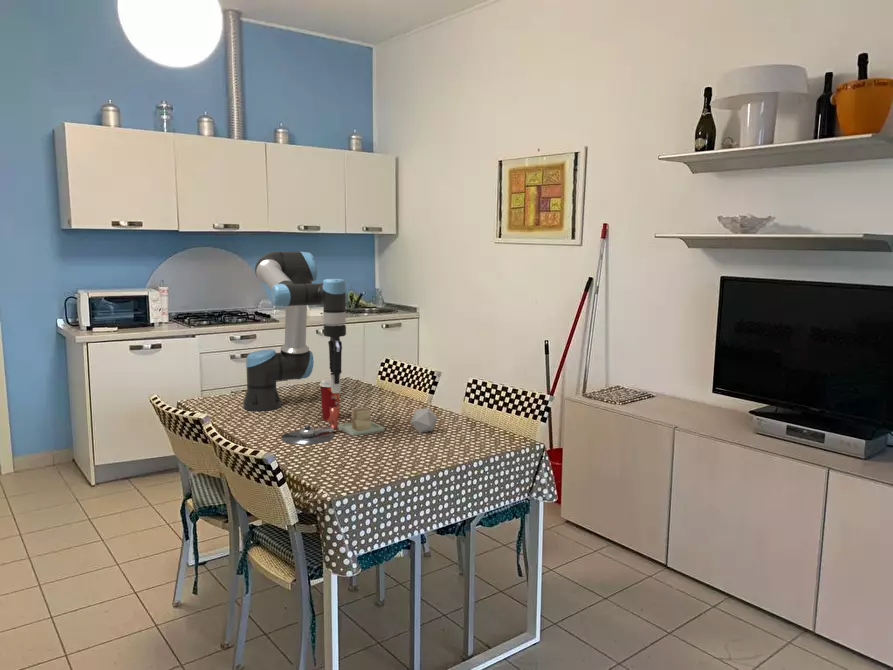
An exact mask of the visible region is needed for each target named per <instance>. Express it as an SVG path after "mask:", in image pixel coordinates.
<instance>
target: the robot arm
mask: <svg viewBox="0 0 893 670" xmlns="http://www.w3.org/2000/svg"><path fill="white" fill-rule="evenodd" d="M254 273H255V276H256V278H258V280H259V281H260V282H261V283H263V284H265V285H267V287H268V288H269V289H270V290H271V295H270V296H271V301H272V304H273V305H274V306H277V307H285V312H284V313H285V318H284V320H285V321H284V322H285V323H284V344H282V346H281V347H280V352H277V351H276V350H275V349H268V348H267V349H260V350H256V351H253V352H249V354H247V356H246V364H245V367H246V393H245V395H244V399H243V402H242V409H244V410H246V411H253V412H265V411H266V412H267V411H271V410H272V411H273V410H277V409H280V408H281V407H282V400H281V398H280V394H279V392H278V389H277V381H291V380H302V379H308V378H309V377H310V376H311V374H312V373H313V370H314V369H313V368H314V363H315V362H314V353H313V352H312V351H311V350H310V347H309V346H308V345H307V343H306V342H307V322H308V321H307V318H308V317H307V316H308V306H317V305H318V306H323V310H322V311H323V315H322V316H323V317H322V319H323V324H324V325H323V335H324V337H327V338H329V340H328V342H327V343H328V351H329V352H328V354H329V356H328V357H329V358H328V359H329V369H330V371H329V372H330V379H331V392H332V393H340V394H341V385H340V383H341V374H342V351H343V344H342V341H341V338H340V337H345V336H346V335H347V325H346V322H347V319H346V318H347V317H348V314H346V311H347V310H346V306H347V305H346V301H347V298H346V296H347V295H346V294H347V293H346V292H347V288H346V282H345V280H344V279H343V278H326V279H324V280H323V282H318V283H313V282H315V281H316V280H317V279H318V268H317V263H316V259H315V257H314V256H313V254H312V253H311V252H306V251H272V252H267V253H266V254H264V255H262V256H261V257H260V258H259V259H258V260H257V261H256V262H255V266H254Z"/></svg>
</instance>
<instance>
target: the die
mask: <svg viewBox="0 0 893 670" xmlns="http://www.w3.org/2000/svg"><path fill="white" fill-rule="evenodd" d="M437 420H438V417H437V416H436V414H434V412H433V411H432V410H431V408H429V407H426V408H417V409H415V410H414V413H413V415H412V418H411V420H410V424H411V425H412V427H414V429H415V430H416V431H417V432H418V433H419V434H421V432H422V433H427V432H428V431H430V432H433V430H434V428H435V425H436V423H437ZM428 433H429V432H428Z"/></svg>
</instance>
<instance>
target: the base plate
mask: <svg viewBox="0 0 893 670" xmlns="http://www.w3.org/2000/svg"><path fill="white" fill-rule="evenodd" d="M304 428H305V429H311V428H312V427H311V425H304ZM334 437H335V434H334V433H333V431H328V432H322V433H316V434H315V436H313V437H301V435H300V429H297V430H291V431H289V432H286V433H284V434H283V435H282V436H281V438H280V439H281V441H282V442H284V443H286V444H292V445H298V446H299V445H300V446H302V445H303V446H305V445H306V446H307V445H317V444H321V443H327V442H329V441H331V440H333V439H334Z"/></svg>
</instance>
